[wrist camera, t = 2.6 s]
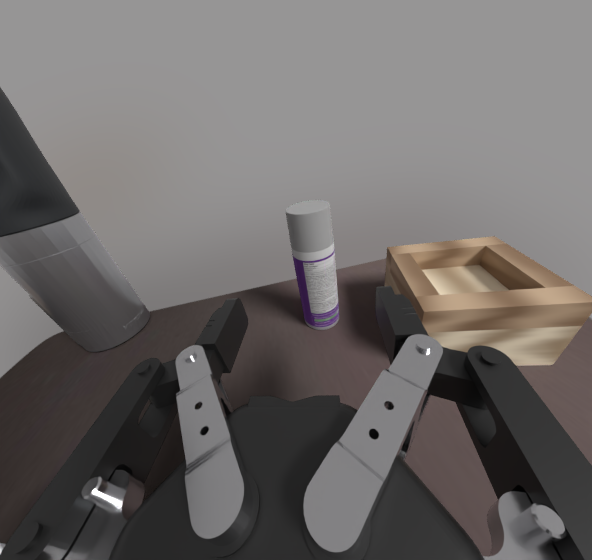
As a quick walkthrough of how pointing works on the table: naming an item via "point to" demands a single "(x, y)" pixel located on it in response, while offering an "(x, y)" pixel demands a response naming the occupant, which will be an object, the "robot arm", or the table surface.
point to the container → (314, 261)
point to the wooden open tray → (488, 298)
